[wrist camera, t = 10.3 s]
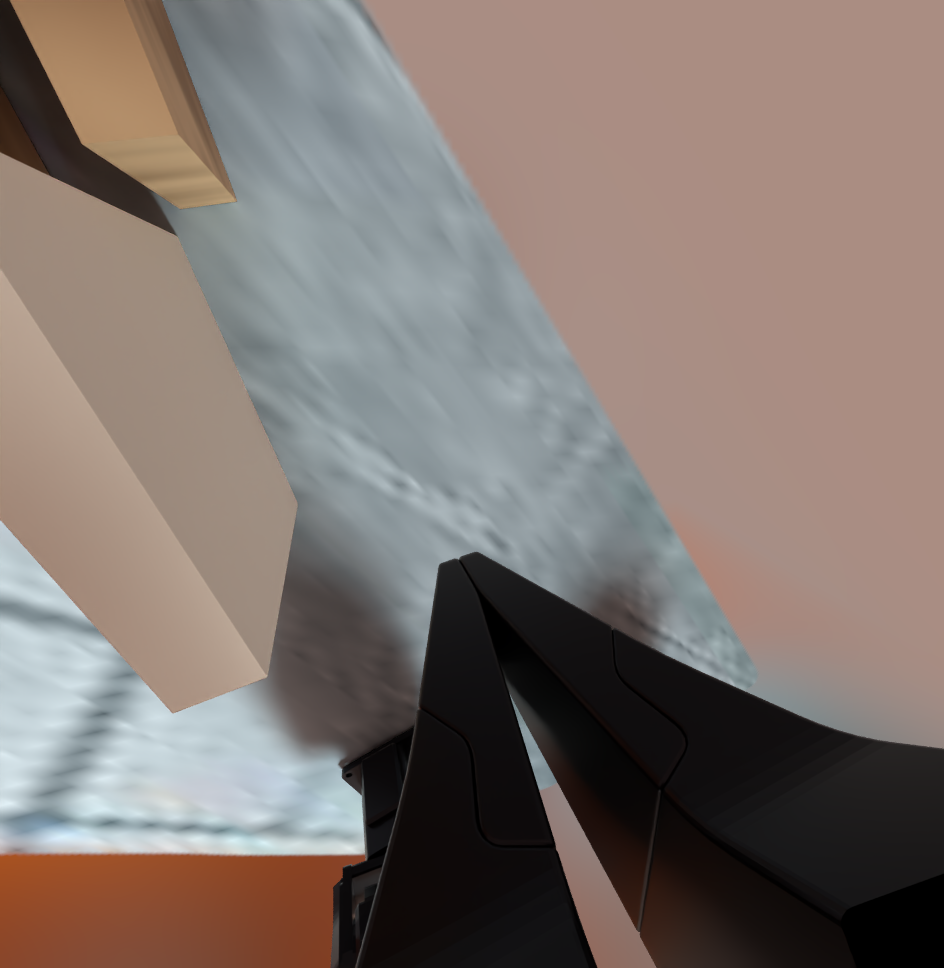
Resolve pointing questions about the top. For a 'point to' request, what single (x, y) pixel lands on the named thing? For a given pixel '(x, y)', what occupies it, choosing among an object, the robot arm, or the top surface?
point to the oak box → (122, 96)
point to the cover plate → (135, 443)
